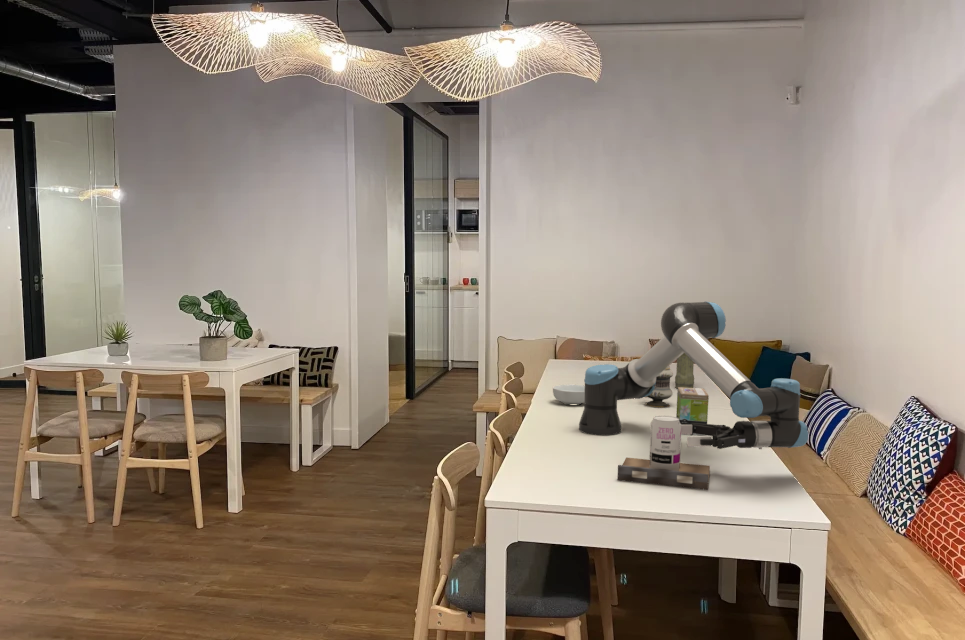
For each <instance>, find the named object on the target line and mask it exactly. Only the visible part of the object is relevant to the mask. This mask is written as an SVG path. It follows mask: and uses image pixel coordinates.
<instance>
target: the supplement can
mask: <svg viewBox="0 0 965 640" xmlns="http://www.w3.org/2000/svg"><path fill="white" fill-rule="evenodd" d="M649 434H650V435H649V436H650V438H649V440H650V441H649V460H650V466H649V467H650V468H654V469H664V470H673V471H679V469H680V463H681V444H682V443H681V439H682V438H681V437H682V436H681V435H682V434H681V423H680V421H679V419H678V418H676V416H671V415H655V416H653V418H652V420H651V422H650V433H649Z"/></svg>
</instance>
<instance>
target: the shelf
mask: <svg viewBox="0 0 965 640" xmlns="http://www.w3.org/2000/svg"><path fill="white" fill-rule="evenodd" d="M649 466H650V459H645V458H634V457H625V459H624V461H623V463H622V464H618V465H617V481H622V480H625V481H624V482H631V481H633V482H632V483H640V482H641V484H648V485H649V484H650V485H651V484H652V485H660V486H669V487H677V488H687V489H696V490H703V489H704V491H708V489H709V483H708V482H709V479H710V473H711V472H710V470H711V465H707V464H706V465H705V464H697V463H695V464H694V463H688V462H687V463H686V462H680V469H679V471H673V470H664V469H654V468H650V467H649Z"/></svg>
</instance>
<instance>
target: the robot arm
mask: <svg viewBox="0 0 965 640" xmlns="http://www.w3.org/2000/svg"><path fill="white" fill-rule="evenodd" d="M660 319H661V320H660V327H661V331H662V334H663V336H662V338H660V339H659V340H658V341H657V342H655V344H654V345H653V346H652V347H651V348H650V349H649V350H647V352H645V353H644V354H643V355H642V356H641V357H640V358H636V359H635V358H634V359H631V360H630V361H629V363H627V364H626V365H625V366H624V367H618V366H617V365H615V364H609V363H607V364H605V363H604V364H598V365H592V366H589V367H587V369H586V370H585V372H584V373H585V374H584V385H585V398H584V405H583V407H584V408H583V411H582V414H581V417H580V419H579V423H578V430H579V431H580V432H582V433H584V432H585V433H584V434H588V433H589V435H595V434H596V435H597V436H610V435H611V436H612V435H617V434H620V433H621V432H622V424H621V420H620V417H619V414H618V401H622V400H631V399H633V400H636V399H637V400H638V399H644V398H643V397H645V398H648V397H647V396H649V395H650V394H651V393H652V392H653V390H654V388H655V387H654V385H656V377H657V376H658V375H659V374H660V373H661V372H662V371H664V370H665V369H666V368H667V367H668V366H670V365H672V364H673V363H674V362H675V361H677V358H679V357H680V356H681V355H682V354H683V353H685V354H686V355H687V356H688V357H689V358H690V359H691V360H692V361H693V362H694V364H695V365H696V366H697V367H698V368H699V369H700V370H701V371H702V372H703V373H704V374H705V375H706V376H707V377H708V378H709V380H711V381H712V383H714V384H715V385H716V387H718V388H719V389H720V390H721V391H722V392H723V393H724V394H725V395H726V396H727V397H728V398H729V406H730V408H731V410H732V413H733V414H734V415H736V416H737V417H739V418H743V419H744V418H745V419H746V418H751V419H753V418H757V417H764V416H769V417H770V420H751V421H750V420H741V421H736V422H735V424H734V425H733V427H730V426H728V425H727V426H726V425H725V424H713V423H712V424H709V423H707V424H701V423H693V422H692V423H691V425H681V435H687V437H686V438H687V439H686V440H687V441H686V442H687V443H686V447H689V448H690V447H695V448H696V447H713V448H717V449H719V450H722V449H725V448H733V447H738V448H739V449H752V448H756V449H757V448H758V450H763V448H788V449H790V448H799V447H803V446H805V445H806V443H808V440H809V432H808V426H807V424H806V423H805V422H804V421H802V420H800V402H801V383H800V382H799V381H798V380H796V379H791V378H782V377H781V378H774V379H772V381H771V383H770V384H771V385H770V387H764V388H759V387H758V386H756V384H755V383H754V382H752V381H751V380H750V379H749V378H748V377H747V376H746V375H745V374H744V373H743V372H742V371H741V370H739V368H738V367H736V366H735V365H734V364H733V363H732V362H731V361H730V360H729V359H728V358H727V356H725V355H724V354H723V353H722V352H721V351H720V350H719V349H718V348H716V346H714V344H712V343H711V342H710V341H709V339H711V338H712V339H715V338H718V337H720V336H722V334H724V331H725V330H726V322H727V320H726V315H725V312H724V310H723V308H722V307H721V306H720V305H719V304H718V303H715V302H710V301H702V302H701V301H699V302H676V303H673V304H671V305H670V306H669V307H667V308H666V309H665V311H664V312H663V313H662V316H661V318H660ZM634 398H635V399H634ZM693 433H695V434H702V435H693Z"/></svg>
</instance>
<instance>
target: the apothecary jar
mask: <svg viewBox="0 0 965 640" xmlns="http://www.w3.org/2000/svg"><path fill="white" fill-rule="evenodd" d="M673 376H674V372H673V370H672V369H671V367H670V365H669V366H668V367H667V368H666V369H665V370H664V371H662V372H661V373H660V374H659V375H658V376H657V377H656V385H654V387H655V388H654V390H653V392H652V393H651V394H650V395H649V396H647V397H646V398H648V399H651V401H647V402H646V403H645V406H647V407H651V408H658V409H659V408H661V409H662V408H668V407H670V404H668V403H667V401H666V402H665V401H664V400H668V399H670V398H671V397H672V396H673V393H674V392H673V390H672V389H671V378H672V377H673Z"/></svg>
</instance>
